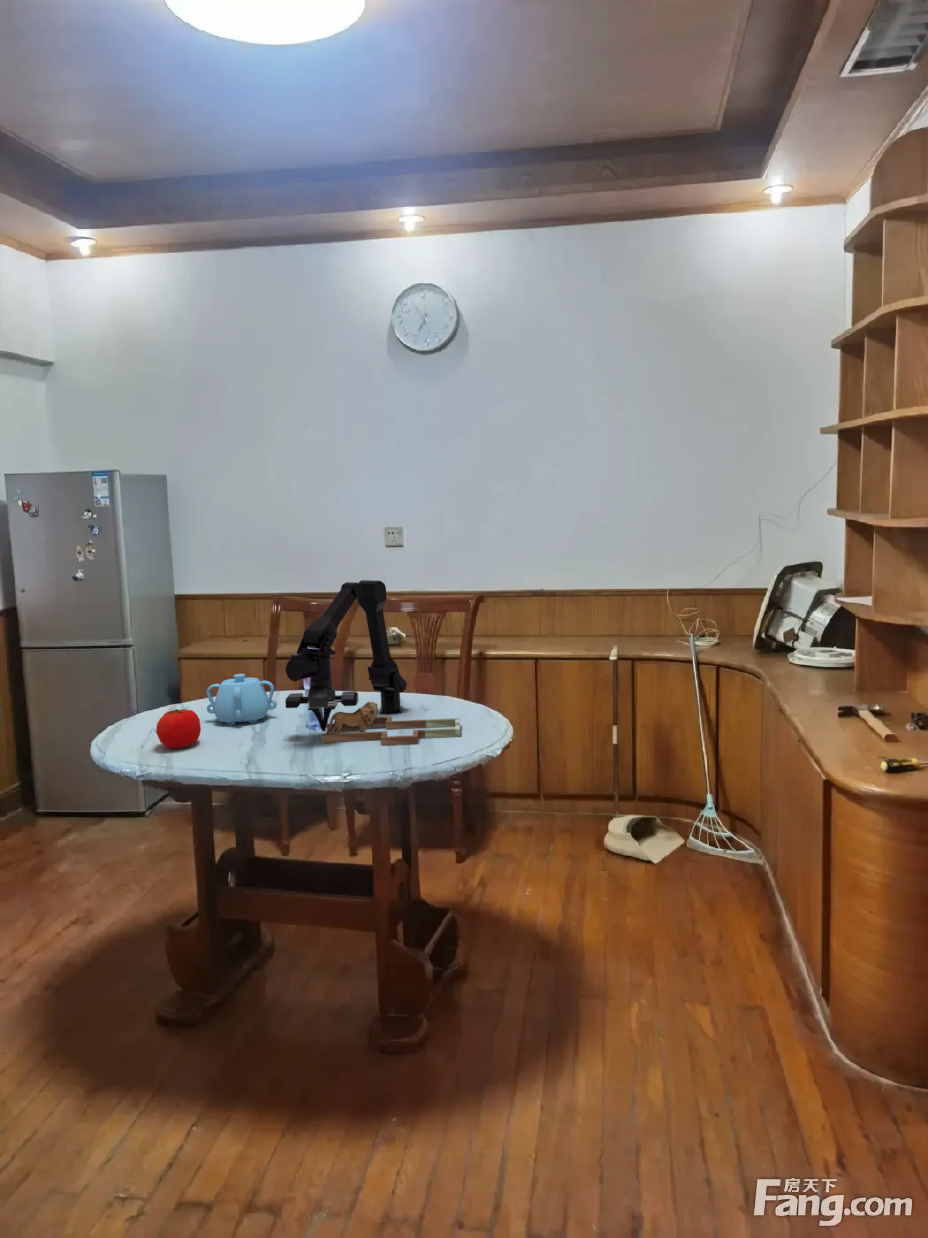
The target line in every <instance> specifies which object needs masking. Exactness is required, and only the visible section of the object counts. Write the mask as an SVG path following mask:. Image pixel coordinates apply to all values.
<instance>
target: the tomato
mask: <svg viewBox="0 0 928 1238" xmlns="http://www.w3.org/2000/svg"><path fill="white" fill-rule="evenodd" d="M188 708H189V706H188V707H186V708H184V709H179V708H175V709H173V710H170V711H166V712H165V713H163V715H162V716H161V717H160V718H159V719H158V721H157V723H156V730H155V733H156V736H157V738H158V741H159V743H161V744H162V745H163V746H165V747H166V748H167V749H181V748H180V747H183V748H186V747H189V745H190V746H191V744H192V745H193V744H195V743H196V742H197V741H198V739H199V738H200V736H201V731H202V728H201V721H200V718H199V716H198V714H197V713H196V712H195V711H193V710H192V709H188Z"/></svg>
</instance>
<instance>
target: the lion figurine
mask: <svg viewBox="0 0 928 1238" xmlns="http://www.w3.org/2000/svg"><path fill="white" fill-rule="evenodd" d="M378 715H379V708H378V703H377V702H375V701H367V702H366V703H365V704H363V706H361V707H359V708H358V709H356V711H354V712H345V711H337V712H335V713H334V714H333V715H332V716H331V718H330V721H329V724H330V725H329V730H328V732H326V733H325V734H333V733H335V732H333V731H334V729H335V728H337V732H336V733H341V732H342V731H341V728H342V723H344V724H346V725H348V726H359V727H360V731H359V732H366V730H367V729H366V725H370V724H371V723H372V722H373V720H375V718H376V717H378ZM332 724H333V726H332ZM331 726H332V727H331ZM330 730H331V731H330ZM340 731H341V732H340Z"/></svg>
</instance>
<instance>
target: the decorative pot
mask: <svg viewBox="0 0 928 1238" xmlns="http://www.w3.org/2000/svg"><path fill="white" fill-rule="evenodd" d="M263 685H266V686H269V689H270V690H269V695H268V694H267V692H266V690H265V688H264V686H263ZM214 688H218V689H217V693H216V695H215V700H214V698H213V696H212V693H211V691H212V689H214ZM274 693H275V686H274V684H273V683H272V682H271V681H268V680H261V681H260V679H259V678H257V677H246V674H245V673H236V674H234V675H233V678H230V679H229V678H228V679H225V680H223V681H222V682H221V683H214V684H211V685H209V687H208V688H207V689H206V696H207V698H208V701H209V703H210V704H208V705H207V707H206V711H207V712H208V714H214V715H215V717H216V718H217V720H218V721H220V722H221V723H225V724H226V723H227V724H232V725H234V724H233V723H235V724H236V723H242V722H249V723H248V724H256V723H258V722H257V721H259V720H261V719H263V718H264V717H265V716H266V715H267V713H268V711H269V710H272V711H273V710H275V709H276V708H277V705H278V704H277V701H275V700H273V696H274ZM271 704H273V705H271ZM211 707H212V709H211ZM255 722H256V723H255Z"/></svg>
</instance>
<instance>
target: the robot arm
mask: <svg viewBox="0 0 928 1238" xmlns="http://www.w3.org/2000/svg"><path fill="white" fill-rule="evenodd" d="M387 598H388V597H387V587H386V584H385V583H384V582H383V581H382V580H372V579H371V580H369V579H368V580H367V579H362V580H360V581H359V582H352V581H351V582H349V581H347V582H344V583H342V584H341V586H340V590H339V591H338V593H337V595H336V596H335V598H334V599H333V601H332V602H331V603H330V604H329V606H328V607H327V609H326V610H325V611H324V613H323V614H322V616H321V617H320V618H317V620H315V621H313V622H312V623H310V624H309V626H307V628H305V630H304V632H303V635H302V638H301V640H300V643H299V646H298V648H297V650H296V654H295V653H293V654H291V655H290V660H288V662H287V663H286V666H285V673H286V676H287V678H288V679H289V680H291V681H292V682H299V681H302V680H306V679H309V689H308V694H307V696H305V695H304V693H303V692H300V693H299V692H297V693H296V692H295V693H289V694H288V695H287V697H286V698H285V708H286V709H297V708H298V707H299V706H301V704H305V705H306V704H307V705H308V707H307V710H308V711H311V712H312V713H313V714H314V716H315V717H316V719H317V721H318V724H319V726H320V729H321V731H322V732H326V730H327V724H329V718H330V715H331V713H332V710H336V708H337V705H338V703H341V705H342V706H343V707H354V706H358V703H359V693H358V692H357V691H355V690H353V691H352V690H351V691H343V692H342V693H341V694H339V695H338V694H337V695H336V690H335V687H333V675H332V661H331V659H332V658H331V656H334V655H336V654H337V652H336V651H335V650H334V649H332V646H333V644H334V642H335V641H336V638H337V636H338V627H339V625H340V624H341V622H342V621H343V619H344V618H345V616H346V615H347V614H348V612H349V611H350V609H351V608H352V606H353V605H354V604H355V601H356V600H357V603H358V605H359V606H360V607H361V608H362V610H363V612H365V617H366V622H367V623H366V624H367V630H368V634H369V641H370V647H371V652H372V654H371V655H372V658H373V659H372V662H371V664H370V665H369V666H368V667H367V672H368V681H370V683H371V685H372V688H373V691H375V692H376V691H377V692H379V693H380V708H379V710H378V714H395V713H396V714H401V713H402V711H403V705H401V693H404V692H405V691H406V690H407V685H408V683H407V681H406V680H405V679H404V678H403V676H402V675H401V674H400V671H399V670H400V669H399V666H398V664H397V663H396V662H395V661H394V659H393V658H392V656H391V652H390V646H389V639H388V635H387V628H386V621H385V615H384V607H385V605H386V603H387Z"/></svg>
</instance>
